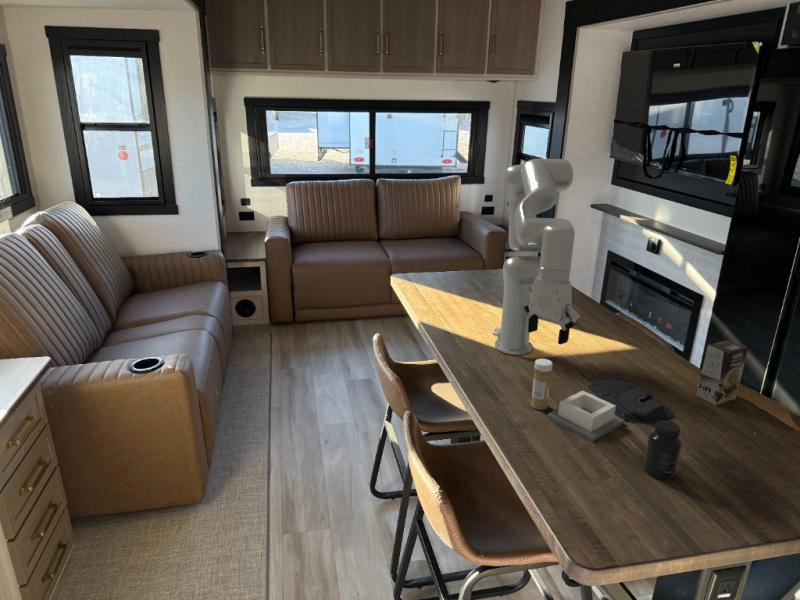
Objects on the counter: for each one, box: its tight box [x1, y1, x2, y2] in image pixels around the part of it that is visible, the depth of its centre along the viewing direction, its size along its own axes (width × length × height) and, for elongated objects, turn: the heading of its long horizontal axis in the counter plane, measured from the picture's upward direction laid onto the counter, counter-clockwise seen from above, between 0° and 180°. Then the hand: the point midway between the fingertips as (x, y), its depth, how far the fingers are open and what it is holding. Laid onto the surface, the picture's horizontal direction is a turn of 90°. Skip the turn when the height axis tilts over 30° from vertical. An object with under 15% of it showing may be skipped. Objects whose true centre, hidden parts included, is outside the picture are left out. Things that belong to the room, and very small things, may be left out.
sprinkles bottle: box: [530, 358, 554, 411], centre depth 153 cm, size 5×5×14 cm
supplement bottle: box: [643, 420, 683, 481], centre depth 127 cm, size 7×7×12 cm
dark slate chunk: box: [587, 376, 675, 425], centre depth 158 cm, size 15×22×5 cm
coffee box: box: [696, 339, 749, 406], centre depth 160 cm, size 9×6×16 cm
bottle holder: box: [546, 390, 626, 443], centre depth 148 cm, size 14×14×5 cm
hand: (547, 337), depth 148 cm, fingers open, 9 cm apart
